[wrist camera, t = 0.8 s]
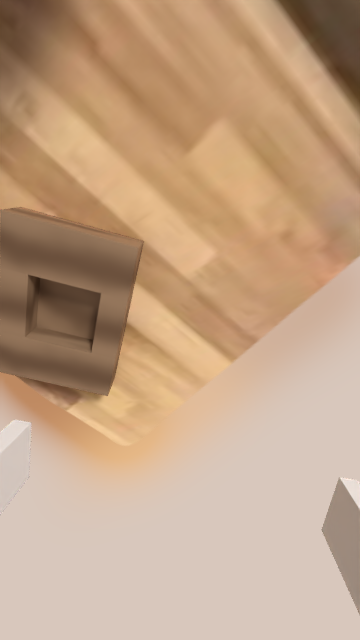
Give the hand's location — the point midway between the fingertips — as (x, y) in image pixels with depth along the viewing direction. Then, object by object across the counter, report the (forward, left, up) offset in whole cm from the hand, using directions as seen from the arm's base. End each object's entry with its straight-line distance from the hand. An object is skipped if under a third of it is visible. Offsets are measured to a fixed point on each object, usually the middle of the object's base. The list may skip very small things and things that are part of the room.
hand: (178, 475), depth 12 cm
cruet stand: (+6, -13, -26) cm, 30 cm away
